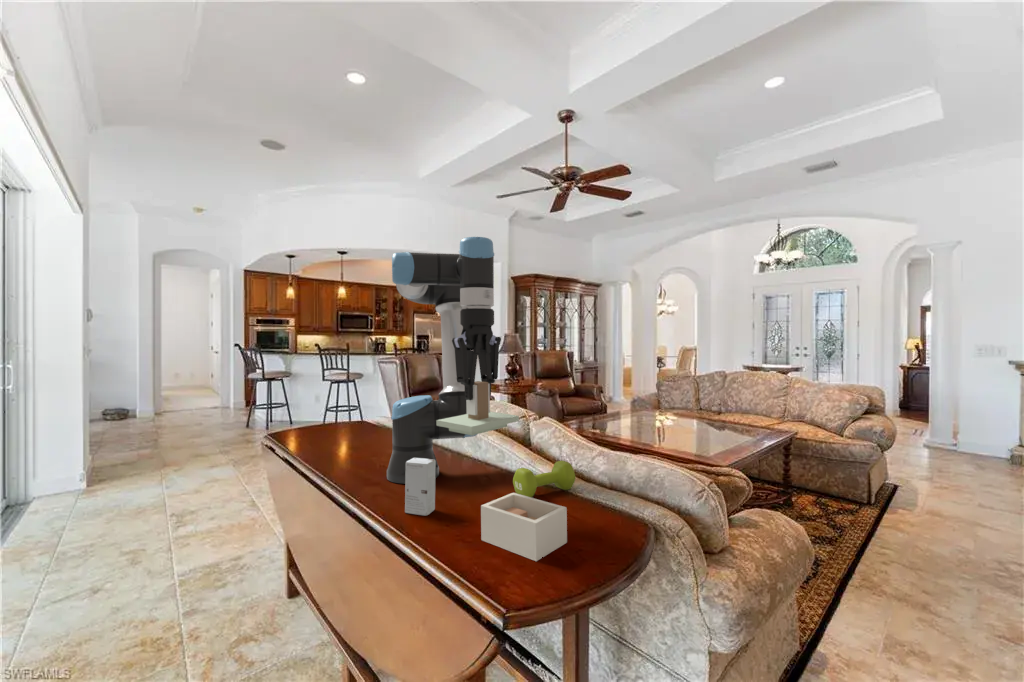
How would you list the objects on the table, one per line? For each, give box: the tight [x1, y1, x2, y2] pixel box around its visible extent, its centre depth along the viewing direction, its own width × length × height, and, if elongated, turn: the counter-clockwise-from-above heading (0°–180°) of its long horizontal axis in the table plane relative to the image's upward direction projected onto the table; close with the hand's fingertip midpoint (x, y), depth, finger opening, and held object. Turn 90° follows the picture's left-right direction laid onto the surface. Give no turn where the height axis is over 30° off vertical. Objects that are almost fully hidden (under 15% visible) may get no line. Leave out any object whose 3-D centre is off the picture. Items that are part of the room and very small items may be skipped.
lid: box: [436, 381, 520, 436], centre depth 104 cm, size 15×11×10 cm
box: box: [480, 492, 568, 562], centre depth 93 cm, size 14×10×7 cm
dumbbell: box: [512, 460, 576, 498], centre depth 122 cm, size 16×8×7 cm, turn 121°
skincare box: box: [404, 458, 437, 517], centre depth 110 cm, size 6×4×12 cm
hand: (478, 412), depth 104 cm, fingers closed on lid, 3 cm apart
